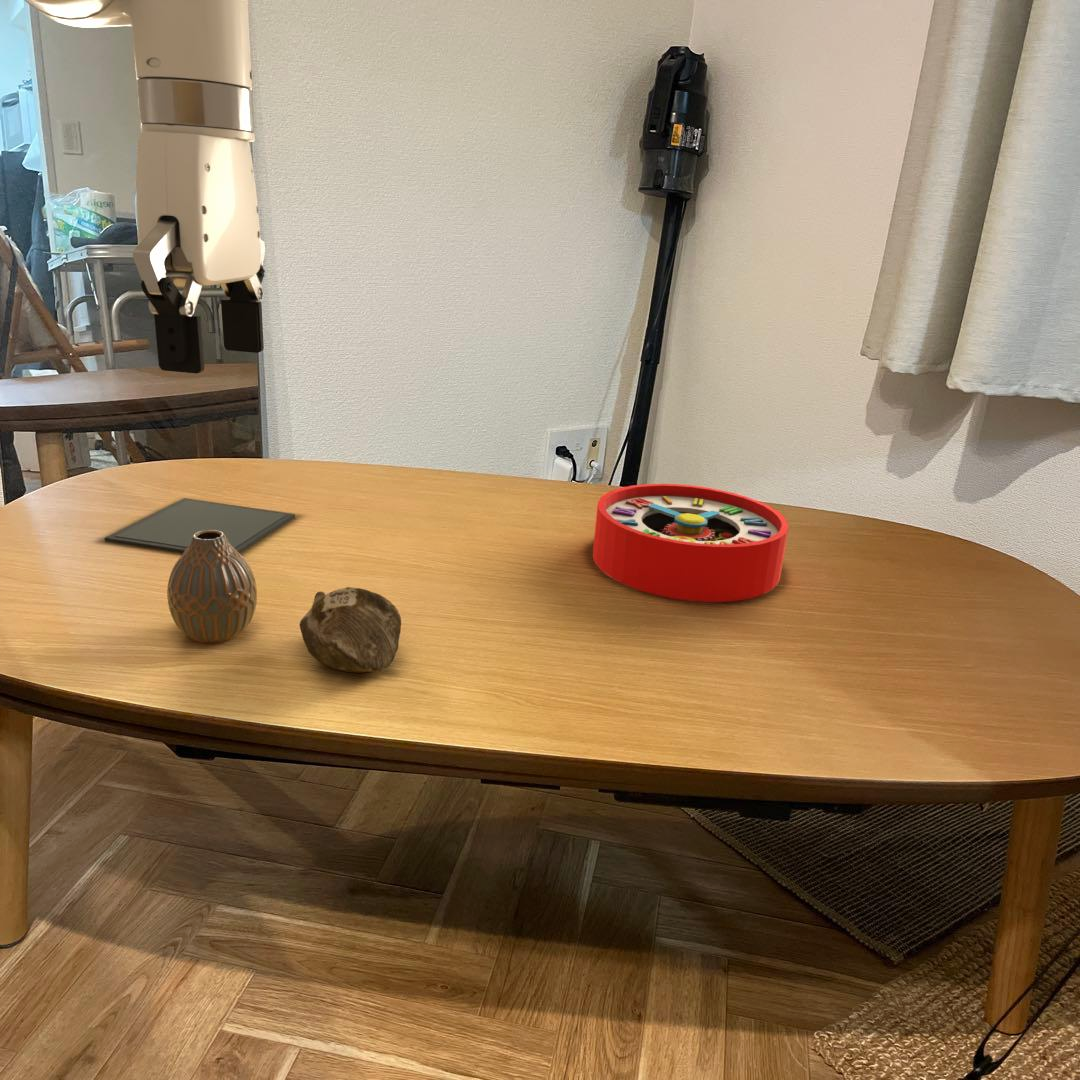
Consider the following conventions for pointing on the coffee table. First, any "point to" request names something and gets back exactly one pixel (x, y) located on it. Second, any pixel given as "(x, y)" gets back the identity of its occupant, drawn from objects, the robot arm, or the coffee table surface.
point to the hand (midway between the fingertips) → (215, 360)
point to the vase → (211, 589)
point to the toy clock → (689, 542)
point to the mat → (200, 525)
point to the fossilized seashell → (352, 630)
